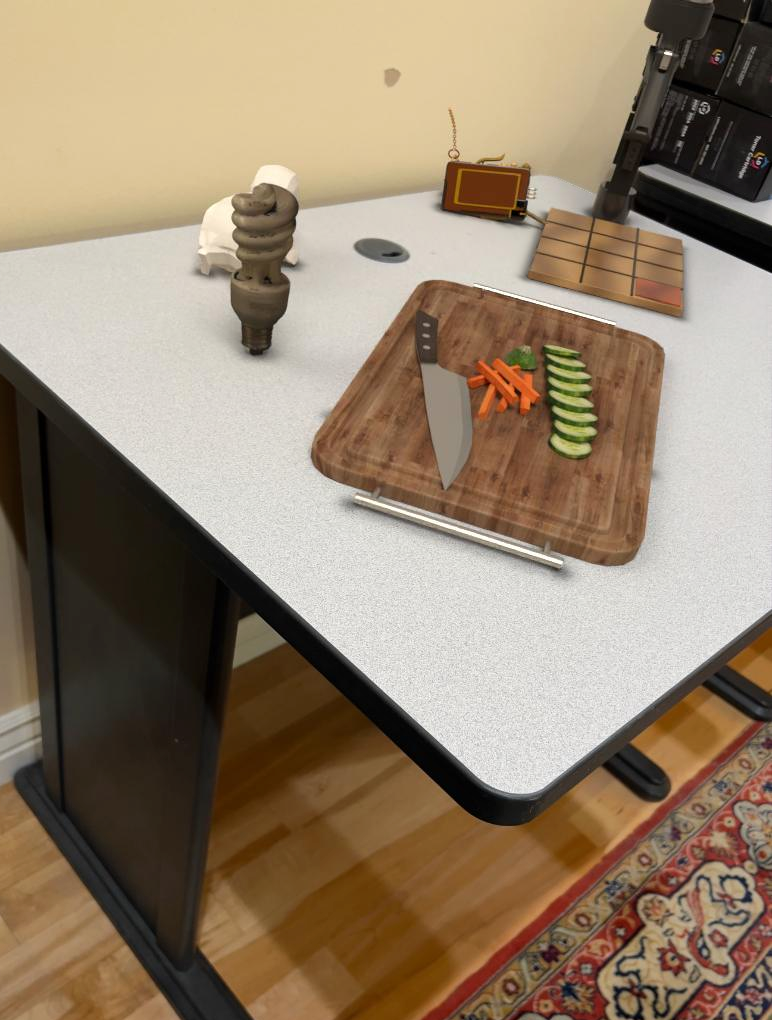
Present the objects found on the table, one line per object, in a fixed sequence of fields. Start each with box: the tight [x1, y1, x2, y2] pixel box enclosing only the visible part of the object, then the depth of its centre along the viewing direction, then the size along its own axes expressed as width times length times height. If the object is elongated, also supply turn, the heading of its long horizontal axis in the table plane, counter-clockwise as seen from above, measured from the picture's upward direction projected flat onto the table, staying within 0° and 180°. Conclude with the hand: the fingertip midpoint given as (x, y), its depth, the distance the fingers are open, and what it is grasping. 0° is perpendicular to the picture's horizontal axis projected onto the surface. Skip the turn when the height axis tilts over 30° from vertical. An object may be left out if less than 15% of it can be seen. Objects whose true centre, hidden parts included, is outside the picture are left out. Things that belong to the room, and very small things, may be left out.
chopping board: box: [310, 279, 666, 569], centre depth 81 cm, size 45×27×3 cm, turn 161°
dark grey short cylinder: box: [590, 180, 637, 225], centre depth 123 cm, size 5×5×4 cm
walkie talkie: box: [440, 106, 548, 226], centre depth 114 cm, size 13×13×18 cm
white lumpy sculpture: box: [197, 164, 300, 276], centre depth 95 cm, size 9×8×15 cm
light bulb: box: [229, 183, 300, 356], centre depth 77 cm, size 6×6×15 cm
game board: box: [527, 206, 684, 318], centre depth 112 cm, size 18×24×1 cm
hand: (619, 179), depth 121 cm, fingers open, 13 cm apart
